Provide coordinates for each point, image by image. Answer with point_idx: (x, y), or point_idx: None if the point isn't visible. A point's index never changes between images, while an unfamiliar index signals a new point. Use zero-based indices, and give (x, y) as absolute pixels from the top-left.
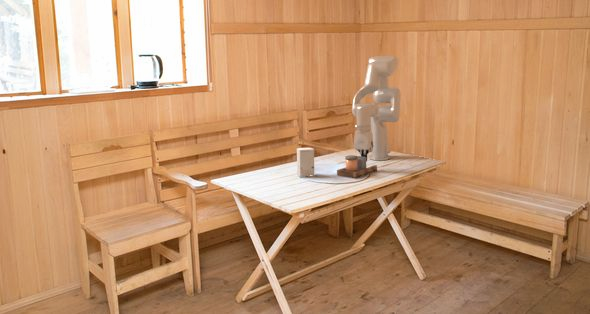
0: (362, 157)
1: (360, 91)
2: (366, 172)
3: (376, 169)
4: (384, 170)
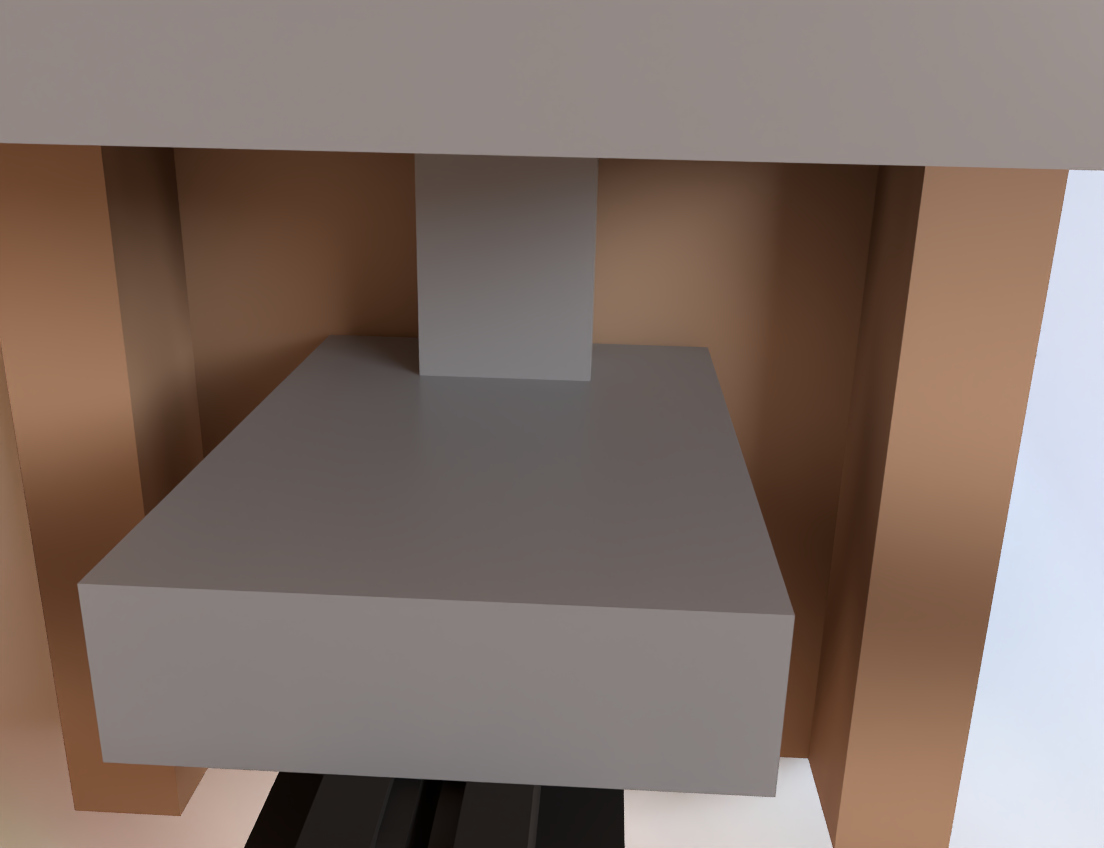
0: (280, 585)
1: None
2: None
3: None
4: (31, 834)
